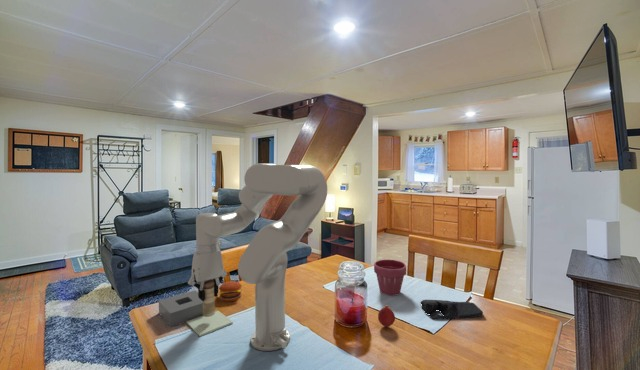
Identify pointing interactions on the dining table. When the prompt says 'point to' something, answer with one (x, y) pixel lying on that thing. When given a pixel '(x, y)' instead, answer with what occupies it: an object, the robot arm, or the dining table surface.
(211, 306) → the plug
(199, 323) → the coaster
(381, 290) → the plant pot
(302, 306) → the dining table surface
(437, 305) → the black pouch
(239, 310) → the dining table surface
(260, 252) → the robot arm
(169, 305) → the socket block
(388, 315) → the onion
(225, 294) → the hamburger
